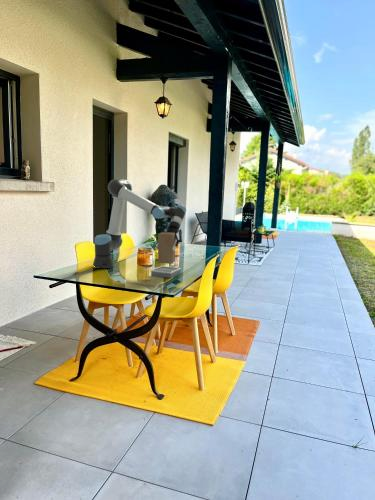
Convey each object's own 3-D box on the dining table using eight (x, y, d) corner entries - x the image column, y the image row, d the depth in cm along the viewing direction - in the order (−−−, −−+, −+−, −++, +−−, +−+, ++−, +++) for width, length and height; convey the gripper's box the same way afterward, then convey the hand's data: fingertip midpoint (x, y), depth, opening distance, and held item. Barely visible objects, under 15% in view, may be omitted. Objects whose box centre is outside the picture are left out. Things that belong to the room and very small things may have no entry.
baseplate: (151, 275, 253) (151, 270, 253) (161, 271, 267) (161, 265, 266) (171, 278, 247) (171, 272, 247) (180, 273, 261) (180, 268, 260)
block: (172, 264, 250) (172, 234, 246) (157, 263, 251) (157, 233, 248) (175, 261, 259) (175, 232, 256) (161, 260, 261) (161, 231, 258)
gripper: (192, 228, 261) (183, 253, 249) (161, 226, 270) (151, 251, 259) (189, 221, 255) (179, 247, 244) (158, 219, 265) (147, 244, 253)
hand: (165, 249), depth 251 cm, fingers closed on block, 12 cm apart
